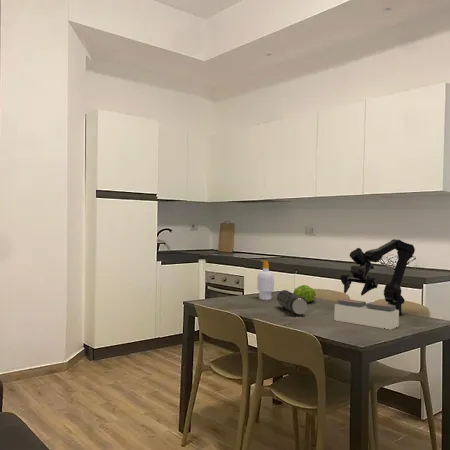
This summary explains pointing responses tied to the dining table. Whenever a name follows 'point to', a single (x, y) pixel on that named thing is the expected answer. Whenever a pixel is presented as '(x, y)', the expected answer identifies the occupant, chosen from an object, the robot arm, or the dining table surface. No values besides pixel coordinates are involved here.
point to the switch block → (367, 316)
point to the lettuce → (305, 292)
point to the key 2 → (380, 306)
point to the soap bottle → (265, 282)
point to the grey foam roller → (292, 302)
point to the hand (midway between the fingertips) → (352, 294)
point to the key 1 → (352, 302)
